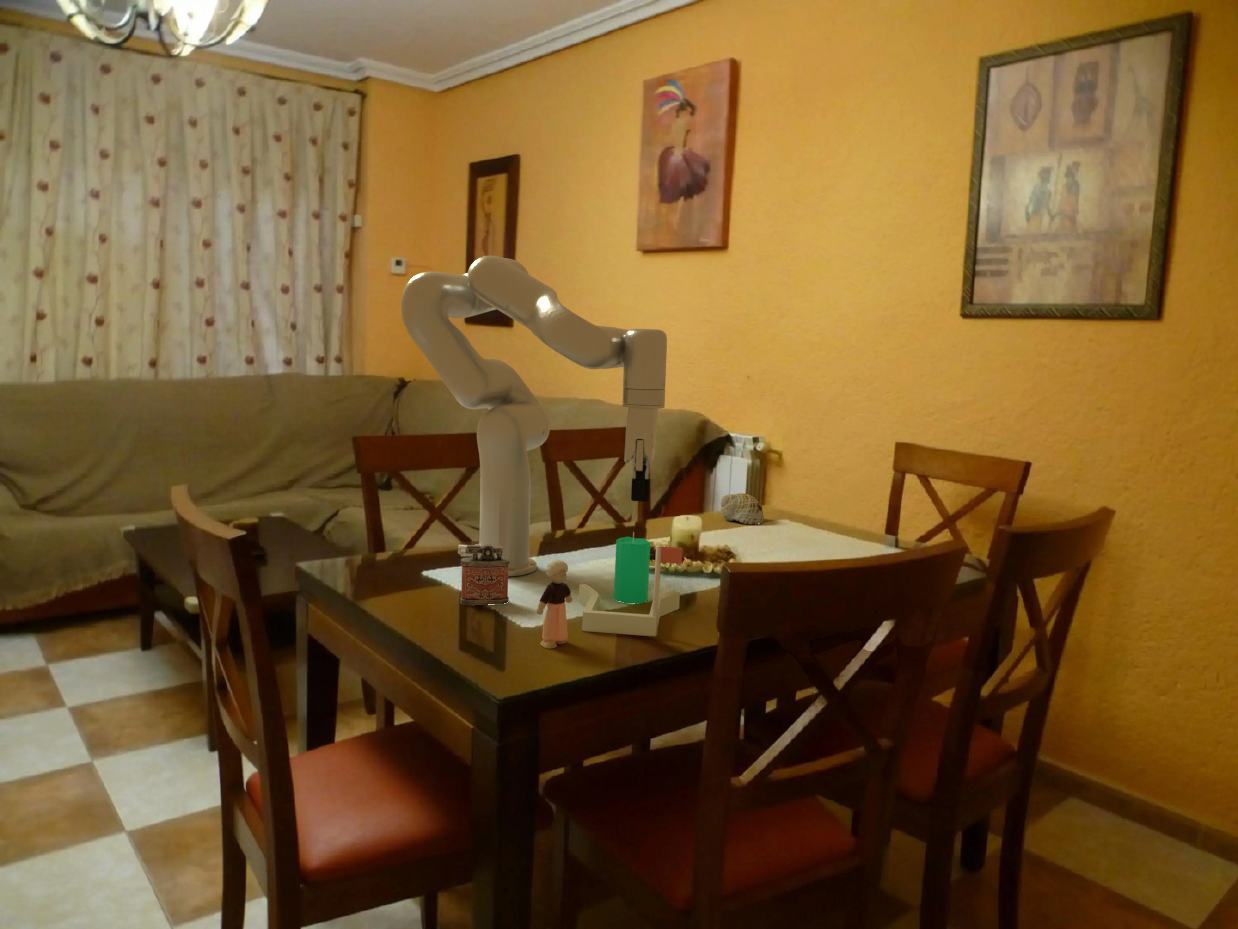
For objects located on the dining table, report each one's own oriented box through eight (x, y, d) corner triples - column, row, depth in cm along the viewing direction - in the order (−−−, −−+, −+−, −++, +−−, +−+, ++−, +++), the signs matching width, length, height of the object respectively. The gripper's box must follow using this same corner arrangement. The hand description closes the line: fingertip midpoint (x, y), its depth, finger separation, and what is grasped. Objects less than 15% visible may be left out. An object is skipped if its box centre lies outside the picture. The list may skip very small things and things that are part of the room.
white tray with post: (563, 629, 140) (566, 541, 138) (579, 600, 156) (582, 520, 154) (677, 638, 139) (682, 549, 137) (682, 608, 154) (686, 527, 152)
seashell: (773, 522, 226) (759, 487, 223) (740, 540, 224) (726, 505, 221) (755, 511, 236) (741, 478, 233) (723, 529, 234) (709, 496, 231)
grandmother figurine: (554, 652, 130) (557, 567, 128) (531, 648, 132) (533, 563, 130) (578, 637, 137) (581, 555, 135) (556, 633, 139) (558, 552, 137)
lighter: (508, 599, 155) (509, 542, 154) (509, 605, 152) (510, 547, 150) (460, 599, 154) (461, 542, 152) (460, 605, 150) (461, 547, 149)
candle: (644, 605, 154) (647, 537, 153) (610, 602, 156) (613, 534, 154) (650, 596, 160) (653, 529, 159) (617, 592, 161) (620, 527, 160)
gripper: (627, 395, 169) (624, 492, 171) (618, 401, 154) (614, 507, 156) (667, 397, 168) (663, 494, 170) (662, 402, 153) (658, 509, 156)
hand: (640, 500), depth 163 cm, fingers closed
